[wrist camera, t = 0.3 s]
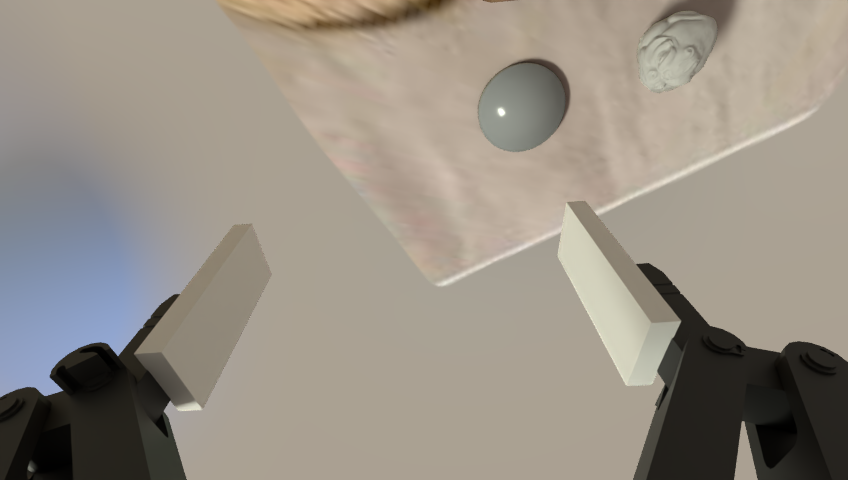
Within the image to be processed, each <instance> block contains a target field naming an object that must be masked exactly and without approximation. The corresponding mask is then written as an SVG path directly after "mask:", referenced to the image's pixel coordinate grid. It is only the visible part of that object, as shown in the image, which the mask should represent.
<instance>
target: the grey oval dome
mask: <svg viewBox="0 0 848 480" xmlns="http://www.w3.org/2000/svg"><path fill="white" fill-rule="evenodd" d="M564 110H565V93H564V89H563V86H562V84H561V82H560V80H559V79H558V77H557V76H556V75H555V74H554V73H553V72H552V71H550V70H549V69H547V68H546V67H544V66H542V65H539V64H536V63H529V62H527V63H517V64H514V65H511V66H509V67H506V68H505V69H503V70H501V71H500V72H499V73H497V74H496V75H495V76H494V77H493V78H492V79H491V80H490V81H489V82H488V84H487V85H486V87H485V88H484V90H483V92H482V95H481V97H480V100H479V105H478V119H479V124H480V127H481V129H482V131H483V133H484V135H485V137H486V138H487V139H488V140H489V141H490V142H491V143H492V144H493V145H494V146H496V147H498V148H500V149H502V150H506V151H511V152H520V151H526V150H530V149H532V148H535V147H537V146H538V145H540V144H542V143H543V142H545V141H546V140H547V139H548V138H549V137H550V136H551V135H552V134H553V133H554V132H555V130H556V129H557V127H558V126H559V124H560V122H561V120H562V117H563V114H564Z"/></svg>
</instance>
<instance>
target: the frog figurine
mask: <svg viewBox="0 0 848 480" xmlns="http://www.w3.org/2000/svg"><path fill="white" fill-rule="evenodd" d="M717 31H718V30H717V24H716V20H715V19H714V18H712V17H710V16H707V15H700V14H699V13H698V12H695V11H681V12H677V13H674V14H672V15H671V16H669V17H667V18H666V19H663V20H661V21H659V22H657V23H655V24H653V25H652V27H651V28H650V29H648V30H647V32H646V33H644V35H643V37H641V39H640V42H639V44H638V49H637V61H638V64H639V79H640V81H641V82H642V84H643V85H644V86H646V87H647V88H648V89H649V90H650V91H651V92H655V93H661V92H663V91H670V90H673V89H675V88H677V87H679V86H682V85H684V84H686V83H688V82H690V80H691V79H692V77H693V76H694V75H695V74H697V73H698V72H699V71H700V70H701V69H702V67H703V66H704V64H705V62H706V61H707V58H708V56H709V54H710V53H711V51H712V49H713V47H714V45H715V42H716V38H717Z"/></svg>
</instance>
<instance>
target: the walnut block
mask: <svg viewBox="0 0 848 480" xmlns="http://www.w3.org/2000/svg"><path fill="white" fill-rule="evenodd" d="M483 1H486V2H491V3H492V2H502V1H513V0H483Z"/></svg>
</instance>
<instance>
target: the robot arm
mask: <svg viewBox="0 0 848 480" xmlns="http://www.w3.org/2000/svg"><path fill="white" fill-rule="evenodd" d="M558 258H559V260H560V262H561V263H562V265H563V267H564V269H565V271H566V273H567V275H568V276H569V279H570V280H571V282H572V284H573V286H574V288H575V290H576V292H577V293H578V295H579V297H580V299H581V301H582V303H583V305H584V307H585V309H586V311H587V312H588V314H589V316H590V318H591V320H592V322H593V324H594V326H595V328H596V330H597V331H598V333H599V335H600V337H601V339H602V341H603V343H604V345H605V347H606V348H607V350H608V352H609V354H610V356H611V358H612V360H613V362H614V364H615V366H616V367H617V369H618V371H619V373H620V375H621V377H622V379H623V380H624V383H625V384H626V386H637V385H638V386H639V385H652V384H653V381H654V379H655V377H656V375H657V373H659V375H660V376H661V378H662V379H663V381H664V383H665V386H664V388H663V389H662V392H661V394H660V396H659V398H658V400H657V402H656V404H655V405H656V406H657V408H656V411H655V414H654V417H653V420H652V423H651V426H650V429H649V432H648V435H647V438H646V441H645V444H644V447H643V451H642V454H641V457H640V460H639V463H638V466H637V469H636V472H635V475H634V478H633V480H734V476H735V468H736V460H737V453H738V445H739V437H740V430H741V422H742V421H745V426H746V430H747V434H748V439H749V443H750V448H751V452H752V456H753V461H754V465H755V469H756V474H757V478H758V480H848V362H847V361H845V360H844V359H843V358H842V357H840V356H839V355H838V354H836V353H834V352H832V351H830V350H828V349H826V348H824V347H821V346H819V345H815V344H812V343H808V342H800V341H798V342H792V343H789V344H788V345H787V346H786V347H785V348H784V349H783V351H782V352H781V353H779V352H773V351H768V350H762V349H757V348H751V347H747V346H746V345H745V344H744V343H743V342H742V341H741V340H740V339H739V338H737V337H736V336H735V335H733V334H731V333H729V332H727V331H725V330H723V329H719V328H716V327H712V326H709V324H708V323H707V322H706V321H705V320H704V319H703V317H702V316H701V315H700V314H699V313H698V312H697V311H696V309H695V308H694V307H693V306H692V305H691V304H690V303H689V301H688V300H687V299H686V298H685V297H684V296H683V295H682V294H680V291H679V290H678V289H677V288H676V287H675V285H673V284H672V282H671V281H670V280H669V279H668V277H667V276H666V275H665V274H664V273H663V272H662V271H660V270H659V269H657V268H656V267H654V266H652V265H651V264H649V263H644V264H635V263H634V261H633V260H632V259H631V258H630V256H629V255H628V254H627V253H626V251H625V250H624V249H623V248H622V246H621V245H620V244H619V243H618V241H617V240H616V239H615V238H614V236H613V235H612V234H611V233H610V231H609V230H608V229H607V228H606V226H605V225H604V224H603V223H602V221H601V220H600V219H599V217H598V216H597V215H596V214H595V212H594V211H593V210H592V209H591V207H590V206H589V205H588V204H587V202H586V201H577V202H566V208H565V214H564V220H563V226H562V232H561V238H560V244H559V250H558ZM270 277H271V272H270V269H269V267H268V264H267V261H266V259H265V256H264V253H263V251H262V248H261V246H260V243H259V241H258V238H257V236H256V233H255V230H254V228H253V225H252V224H242V225H234V226H233V227H232V228H231V229H230V231H229V232H228V233H227V235H226V236H225V237H224V238H223V240H222V241H221V242H220V244H219V245H218V246H217V248H216V249H215V250H214V252H213V253H212V254H211V255H210V256H209V258H208V259H207V260H206V262H205V263H204V264H203V265H202V267H201V268H200V269H199V271H198V272H197V274H196V275H195V276H194V277H193V278H192V280H191V281H190V282H189V284H188V285H187V286H186V288H185V289H184V290H183V291H182V293H181V294H175V295H173V296H171V297H170V298H169V299H168V300H166V301H165V302H163V303H162V304H161V305H160V306H159V307H158V308H157V309H156V311H155V312H154V313H153V314H152V315H151V319H148V320H147V322H146V323H145V324H144V325H143V328H142V329H140V330H139V331H138V333H137V334H136V335H135V336H134V338H133V339H132V340H131V341H130V342H129V344H128V345H127V346H126V347H125V349H124V350H123V351H122V352H121V353H120V355H119V356H117V355H116V354H115V352H114V351H113V350H112V349H111V348H110V346H109V345H108V344H106V343H101V342H100V343H93V344H89V345H86V346H83V347H81V348H78V349H77V350H75V351H73V352H71V353H69V354H68V355H67V356H65V357H64V358H63V359H62V360H60V361H59V362H58V363H57V364H56V366H55V367H54V368H53V369H52V371H51V374H50V378H51V379H52V380H53V381H54V382H55V383H56V384H58V386H59V387H60V388H61V389H63V390H64V391H61V392H58V393H55V394H52V395H48V396H44V395H42V394H41V393H40V392H39V391H38V390H37V389H36V388H31V387H26V388H22V389H18V390H15V391H13V392H10V393H9V394H6V395H4V396H2V397H0V480H187V479H186V476H185V473H184V469H183V466H182V462H181V459H180V456H179V452H178V449H177V446H176V442H175V439H174V436H173V433H172V429H171V425H170V422H169V419H168V417H167V415H166V414H165V413H164V412H163V411H164V409H165V408H166V406H167V404H168V403H169V401H171V402H172V403H173V404H174V406H175V407H176V408H177V410H178V411H190V410H203V408H204V406H205V404H206V402H207V400H208V398H209V396H210V394H211V392H212V391H213V389H214V387H215V385H216V383H217V380H218V379H219V377H220V375H221V373H222V371H223V369H224V367H225V365H226V363H227V361H228V359H229V357H230V355H231V353H232V351H233V349H234V347H235V345H236V343H237V341H238V340H239V337H240V336H241V334H242V332H243V330H244V328H245V326H246V324H247V322H248V320H249V318H250V316H251V314H252V312H253V310H254V308H255V306H256V304H257V302H258V300H259V298H260V296H261V294H262V292H263V290H264V288H265V286H266V285H267V283H268V281H269V279H270Z"/></svg>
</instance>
